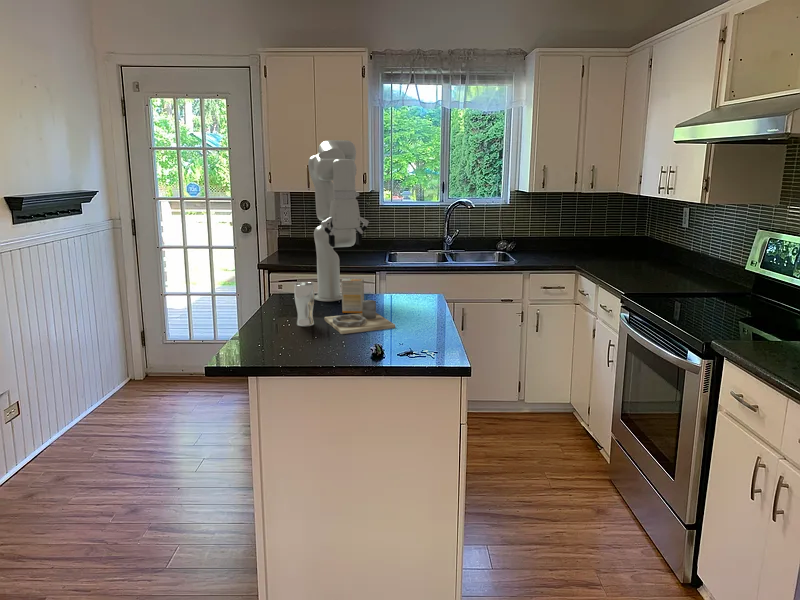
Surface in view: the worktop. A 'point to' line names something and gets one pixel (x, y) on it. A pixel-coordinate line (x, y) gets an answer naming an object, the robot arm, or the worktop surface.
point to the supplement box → (352, 295)
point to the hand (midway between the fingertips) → (345, 245)
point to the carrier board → (364, 327)
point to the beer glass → (304, 303)
